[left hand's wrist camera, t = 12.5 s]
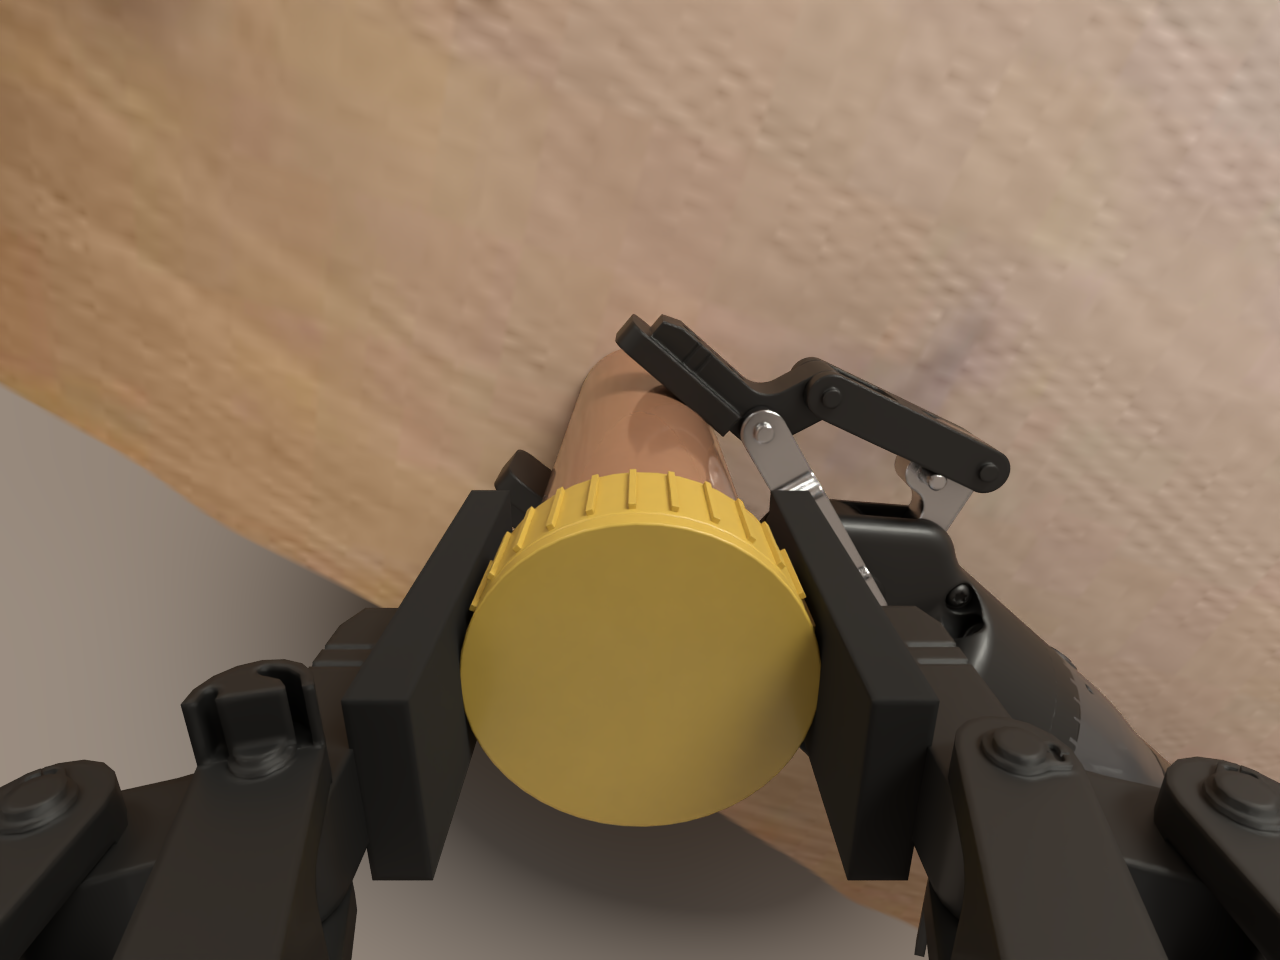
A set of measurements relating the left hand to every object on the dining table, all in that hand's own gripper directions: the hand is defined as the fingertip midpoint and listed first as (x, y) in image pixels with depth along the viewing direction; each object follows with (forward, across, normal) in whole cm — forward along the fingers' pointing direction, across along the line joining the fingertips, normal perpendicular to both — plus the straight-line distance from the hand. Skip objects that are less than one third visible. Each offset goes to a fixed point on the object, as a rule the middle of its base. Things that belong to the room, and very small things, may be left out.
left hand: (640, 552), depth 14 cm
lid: (-4, 0, 0) cm, 4 cm away
